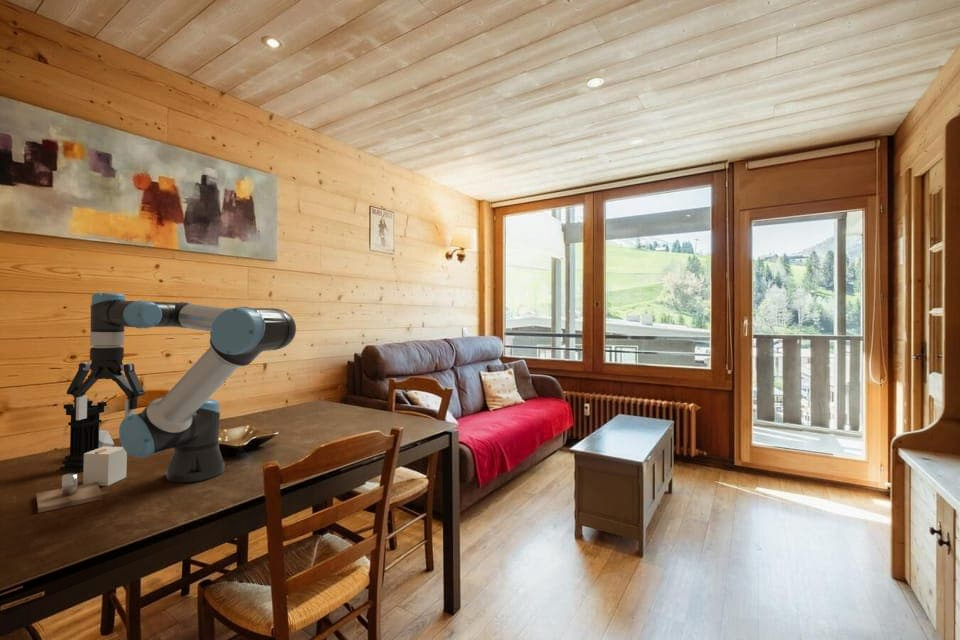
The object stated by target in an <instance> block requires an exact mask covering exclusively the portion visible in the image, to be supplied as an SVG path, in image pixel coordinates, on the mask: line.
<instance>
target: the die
mask: <svg viewBox="0 0 960 640" xmlns="http://www.w3.org/2000/svg"><path fill="white" fill-rule="evenodd" d="M103 446H105V447H114V446H115V442H114V440H113V438H112V436H111V435H110V432H109V431H108V430H104V429H103V430H102V429H101V430H100V429H99V448H101V447H103Z"/></svg>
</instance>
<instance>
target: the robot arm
mask: <svg viewBox="0 0 960 640" xmlns="http://www.w3.org/2000/svg"><path fill="white" fill-rule="evenodd" d="M90 302H91V303H90V305H89V308H90V334H89V345H90V346H92V347H90V348H89V360H90V361H91V362H90V361H85V362H80V363H78V369H77V372H76V373H75V376H74V377H73V379H72V381H71V383H70V385H69V387H68V388H67V389H66V394H67V395H71V396H72V397H73V402H74V403H73V407H75V408H76V420H81V419H85V418H87V401H88V395H86V393H87V392H88V391H90V389H91V388H92V387H93V385H94V384H95V383H97V381H98V380H103V379H105V380H112V381H113V382H114V383H116V384H117V386H118V387H119V388H120V389H121V391H122V392H123V393H124V394H125V396H126V397H127V398H125V399H124V418H123V419H122V420H121V422H120V424H119V428H118V435H119V441H120V444H121V447H123V448H124V449H125V451H126V452H127V455H130V456H131V457H135V458H145V457H150V456H153V455H155V454H159V453H161V452H164V451H165V452H166V451H168V450H170V449H173V454H172V456H171V459H170V462H169V465H168V467H167V468H166V471H165V478H166V480H167V481H169V482H173V483H191V482H192V483H194V482H200V481H205V480H209V479H212V478H215V477H218V476H219V475H221V474H223V473H224V472H225V460H224V458H223V456H222V455H223V454H222V452H221V449H220V446H219V445H220V443H219V442H220V419H221V411H220V402H219V401H218V400H216V399H212V398H210V397H212V395H213V394H214V393H215V392H217V390H218V389H219V388H220V387H221V386H222V385H223V384H224V383H225V382H226V380H228V379H229V378H230V376H232V374H233V373H235V371H237V370H238V368H239V367H246V366H249V365H250V364H251V363H252V362H253V361H254V360H255V359H256V358H257V357H258V356H259V355H260V354H261V353H262V352H269V351H277V350H281V349H283V348H286V347H287V346H288V345H290V344H291V342H293V340H294V338H295V336H296V332H297V324H296V321H295V320H294V317H293V316H292V315H291V314H289V313H288V312H287V311H285V310H282V309H279V308H272V307H271V308H263V307H260V308H259V307H258V308H257V307H254V308H253V307H248V306H238V307H232V308H224V307H216V306H208V305H201V304H194V303H190V302H183V301H182V302H172V301H171V302H170V301H167V302H165V301H147V300H126V295H125V294H124V293H116V292H115V293H114V292H113V293H112V292H94V293H93V294H92V295H91V301H90ZM163 327H164V328H165V327H166V328H168V327H170V328H172V327H173V328H182V329H191V330H198V331H204V332H209V345H210V346H209V347H208V348H207V350H205V352H204V353H203V354H202V355H201V356H200V357H199V358H198V359H197V361H195V363H194V364H193V365H192V366H191V367H190V369H188V370H187V371H186V372H185V374H184V375H183V376H182V377H181V378H180V379H179V380H178V381H177V383H176V384H175V385H173V387H172V388H171V389H170V390H169V391H168V393H166V394H165V395H164V396H163V397H158V398H156V399H154V400H152V401H150V403H149V404H148V405H147V406H146V407H145V408H144V409H143V410H142V411H141V412H140V413H136V412H135V411H136V409H137V408H138V398H140V397H142V396H145V394H146V392H145V390H144V388H143V384H141V381H140V379H139V377H138V374H137V373H136V371H135V364H134V363H125V364H124V363H123V360H124V356H125V348H124V346H123V345H125V328H136V329H149V328H163ZM90 370H91V372H90ZM89 372H90V373H89ZM88 374H89V375H88Z"/></svg>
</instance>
